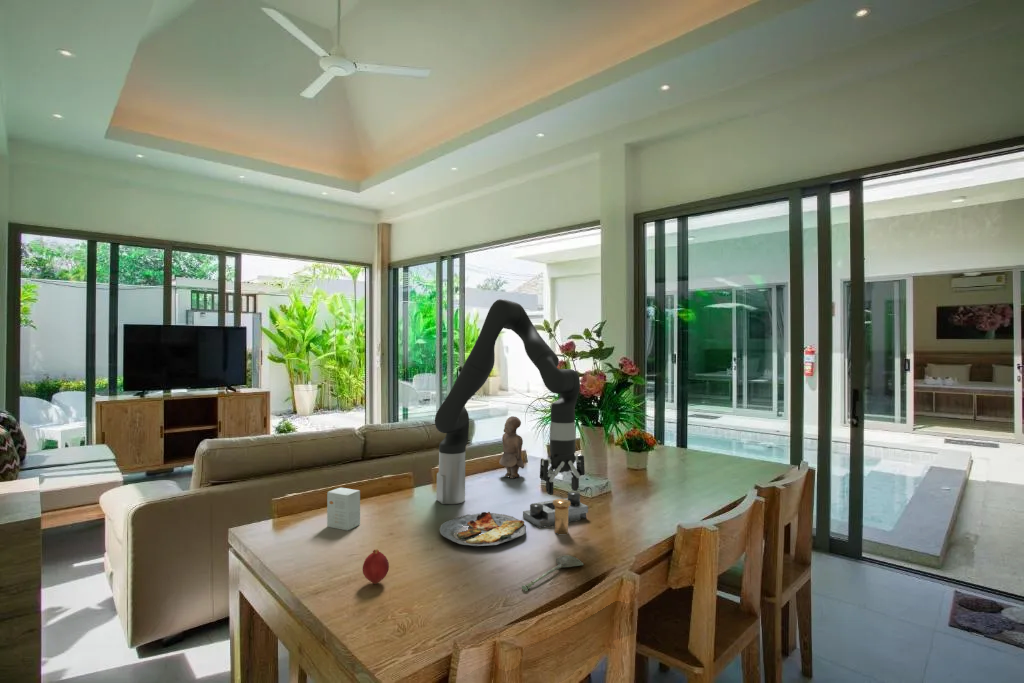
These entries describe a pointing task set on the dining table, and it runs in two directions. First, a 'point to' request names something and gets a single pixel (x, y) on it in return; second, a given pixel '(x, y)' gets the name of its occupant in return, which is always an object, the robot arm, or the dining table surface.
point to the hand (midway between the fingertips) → (562, 492)
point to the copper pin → (561, 515)
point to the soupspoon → (562, 562)
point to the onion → (375, 567)
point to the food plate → (483, 529)
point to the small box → (343, 508)
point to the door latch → (545, 511)
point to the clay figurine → (512, 447)
